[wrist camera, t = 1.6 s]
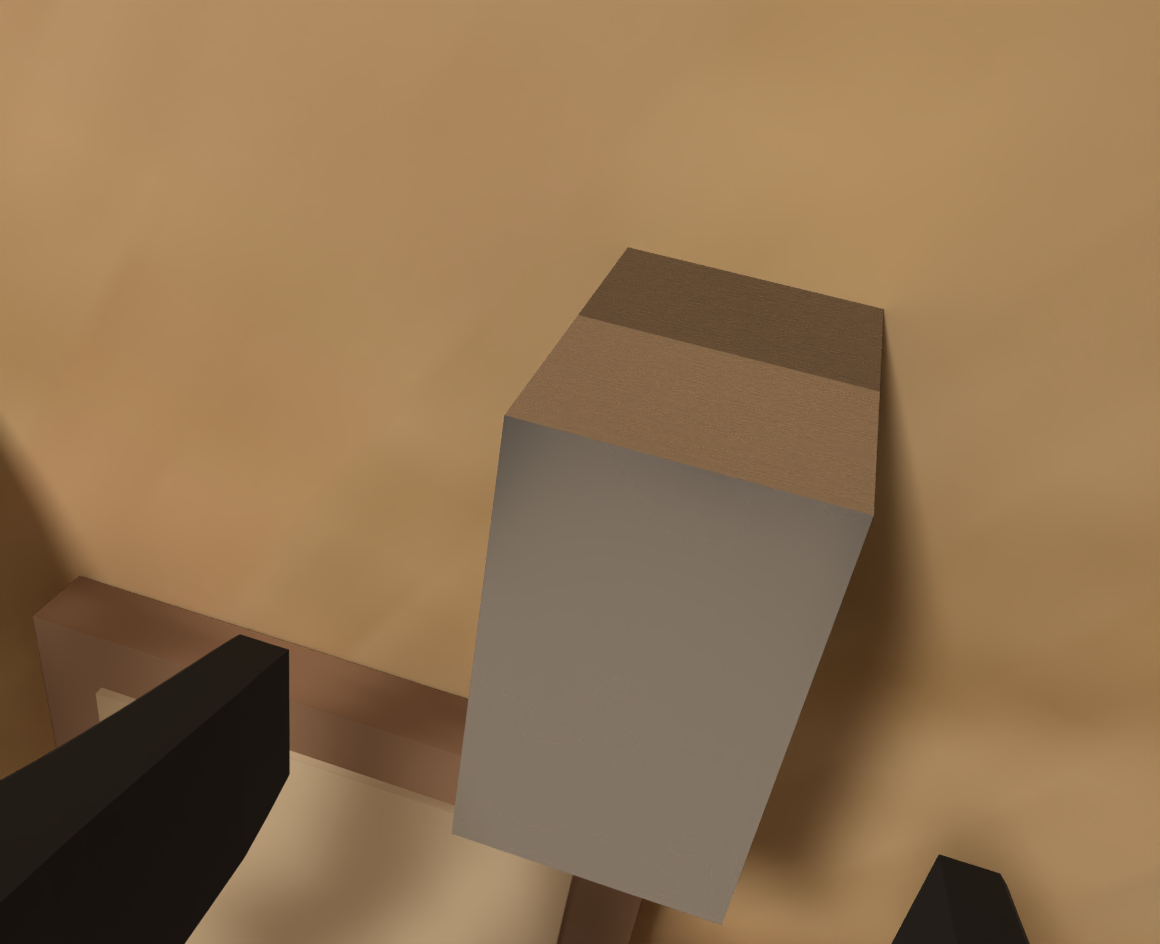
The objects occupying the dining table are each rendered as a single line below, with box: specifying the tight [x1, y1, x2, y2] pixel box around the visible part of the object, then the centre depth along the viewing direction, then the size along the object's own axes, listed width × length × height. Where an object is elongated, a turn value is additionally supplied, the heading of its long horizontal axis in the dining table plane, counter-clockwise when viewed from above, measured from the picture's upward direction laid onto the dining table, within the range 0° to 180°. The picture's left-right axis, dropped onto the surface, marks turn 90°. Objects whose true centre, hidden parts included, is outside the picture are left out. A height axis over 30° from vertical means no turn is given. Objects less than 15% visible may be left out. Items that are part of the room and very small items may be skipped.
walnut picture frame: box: [33, 576, 642, 944], centre depth 25 cm, size 14×14×2 cm
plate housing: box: [451, 247, 884, 925], centre depth 15 cm, size 4×7×6 cm, turn 171°
